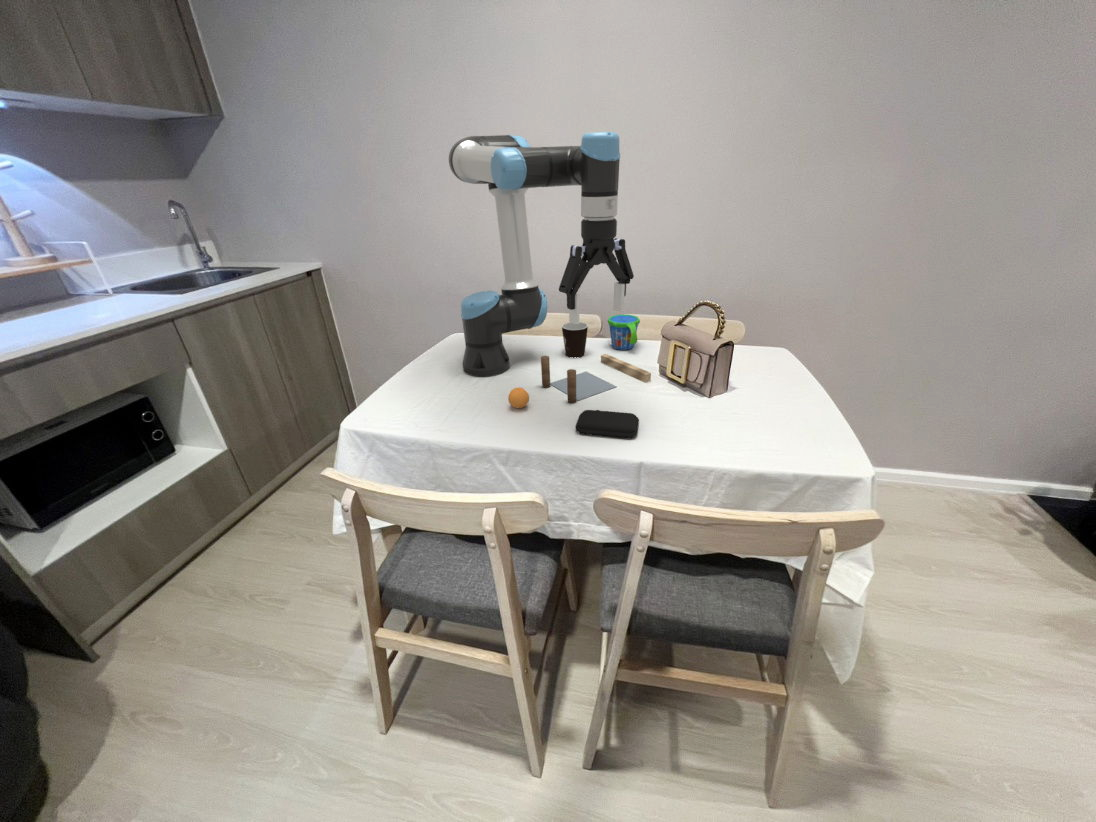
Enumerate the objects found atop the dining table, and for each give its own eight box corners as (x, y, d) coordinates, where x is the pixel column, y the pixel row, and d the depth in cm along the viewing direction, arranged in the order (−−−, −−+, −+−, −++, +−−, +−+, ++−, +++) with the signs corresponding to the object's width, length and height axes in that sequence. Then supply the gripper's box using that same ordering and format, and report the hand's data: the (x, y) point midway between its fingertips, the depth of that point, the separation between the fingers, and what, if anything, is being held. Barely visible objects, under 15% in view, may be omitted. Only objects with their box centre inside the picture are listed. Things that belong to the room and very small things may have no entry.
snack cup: (601, 341, 166) (601, 313, 161) (628, 338, 168) (629, 310, 163) (616, 356, 153) (617, 326, 148) (645, 353, 154) (647, 323, 150)
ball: (505, 406, 124) (503, 387, 121) (522, 400, 127) (521, 382, 124) (515, 413, 120) (514, 395, 117) (533, 407, 123) (532, 389, 120)
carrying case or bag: (639, 420, 116) (581, 415, 119) (640, 409, 114) (581, 404, 118) (636, 442, 107) (573, 436, 110) (637, 431, 105) (573, 425, 108)
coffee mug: (586, 359, 151) (586, 330, 146) (560, 358, 153) (559, 329, 148) (590, 347, 161) (590, 319, 156) (566, 346, 163) (565, 318, 158)
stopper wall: (600, 362, 149) (601, 355, 147) (605, 360, 150) (605, 353, 148) (645, 382, 134) (646, 374, 133) (650, 380, 135) (651, 372, 134)
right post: (565, 401, 125) (565, 370, 121) (572, 398, 126) (572, 368, 122) (571, 404, 124) (570, 373, 119) (578, 401, 125) (578, 371, 120)
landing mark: (548, 384, 135) (548, 383, 135) (586, 371, 142) (586, 371, 142) (578, 400, 125) (578, 400, 125) (616, 387, 132) (616, 386, 132)
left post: (540, 386, 134) (539, 357, 130) (547, 383, 136) (546, 355, 131) (545, 388, 133) (543, 359, 128) (552, 386, 134) (550, 357, 130)
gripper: (563, 225, 87) (564, 332, 98) (653, 213, 100) (646, 309, 110) (540, 222, 93) (544, 324, 103) (628, 211, 105) (624, 303, 116)
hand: (597, 316), depth 107 cm, fingers open, 13 cm apart
